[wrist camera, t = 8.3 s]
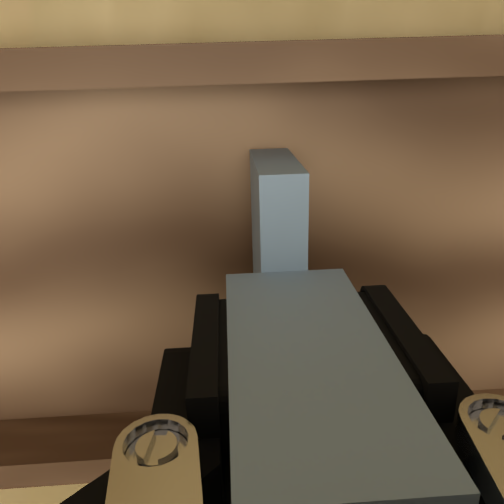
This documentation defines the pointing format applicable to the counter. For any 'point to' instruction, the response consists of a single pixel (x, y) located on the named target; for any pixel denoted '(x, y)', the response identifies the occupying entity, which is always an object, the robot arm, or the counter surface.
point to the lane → (228, 211)
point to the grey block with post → (320, 376)
